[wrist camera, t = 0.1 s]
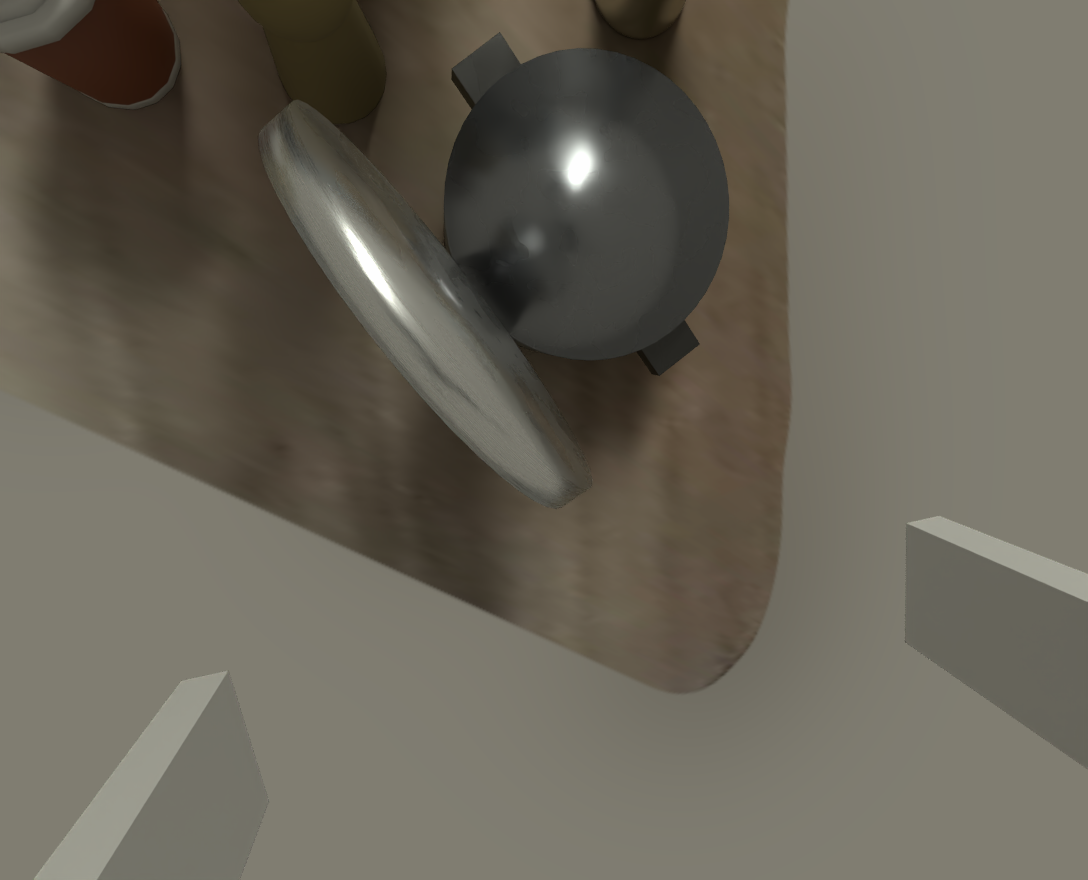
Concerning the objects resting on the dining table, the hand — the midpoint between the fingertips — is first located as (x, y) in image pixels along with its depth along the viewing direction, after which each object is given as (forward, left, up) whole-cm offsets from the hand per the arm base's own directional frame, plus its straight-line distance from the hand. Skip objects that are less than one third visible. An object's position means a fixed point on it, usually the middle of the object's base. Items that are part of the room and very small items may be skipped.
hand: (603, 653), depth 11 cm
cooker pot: (-11, +7, -28) cm, 31 cm away
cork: (-22, -5, -28) cm, 36 cm away
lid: (-7, -1, -12) cm, 14 cm away
